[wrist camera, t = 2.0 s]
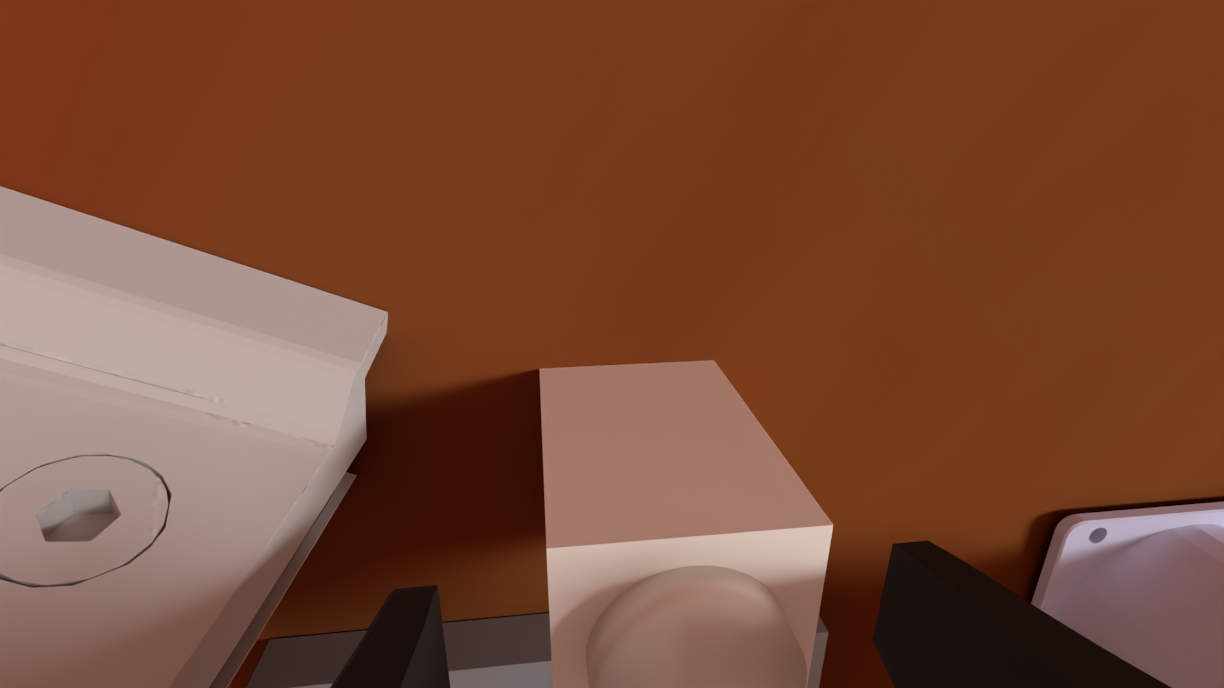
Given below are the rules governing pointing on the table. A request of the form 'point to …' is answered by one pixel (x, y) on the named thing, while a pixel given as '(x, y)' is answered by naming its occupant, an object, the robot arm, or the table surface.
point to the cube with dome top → (674, 534)
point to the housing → (448, 655)
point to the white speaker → (160, 448)
